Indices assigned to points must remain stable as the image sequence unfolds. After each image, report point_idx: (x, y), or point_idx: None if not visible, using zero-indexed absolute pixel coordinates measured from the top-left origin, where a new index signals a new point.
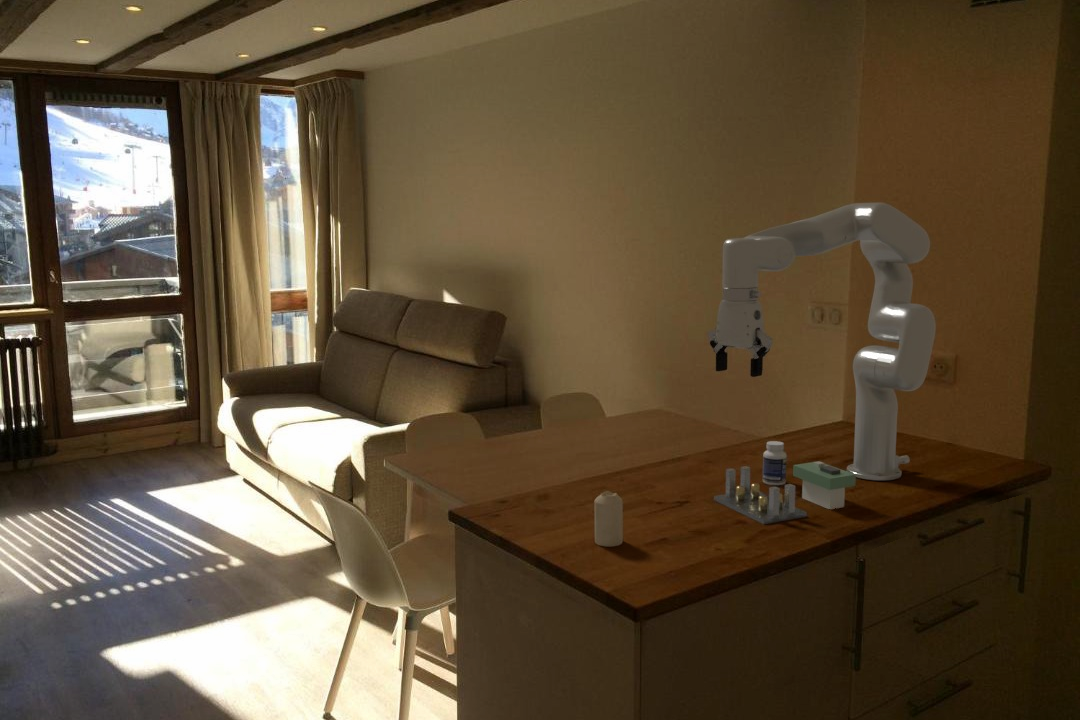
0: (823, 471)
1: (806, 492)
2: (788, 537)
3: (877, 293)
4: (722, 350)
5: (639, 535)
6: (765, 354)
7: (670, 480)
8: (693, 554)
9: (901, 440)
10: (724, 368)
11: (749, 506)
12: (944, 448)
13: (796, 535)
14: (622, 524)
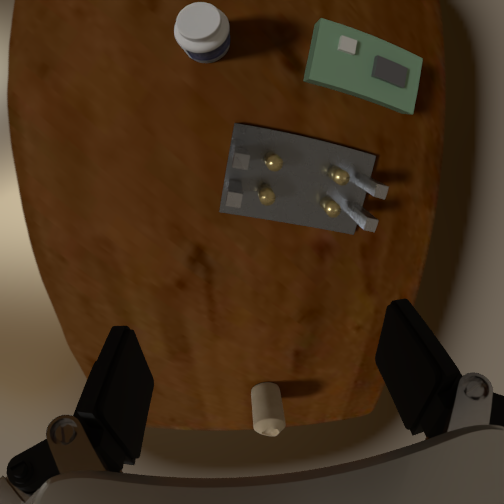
0: (380, 79)
1: None
2: (397, 242)
3: None
4: (107, 457)
5: (270, 365)
6: (494, 395)
7: (90, 196)
8: (348, 352)
9: None
10: (137, 352)
11: (299, 204)
12: None
13: (401, 229)
14: (278, 399)
